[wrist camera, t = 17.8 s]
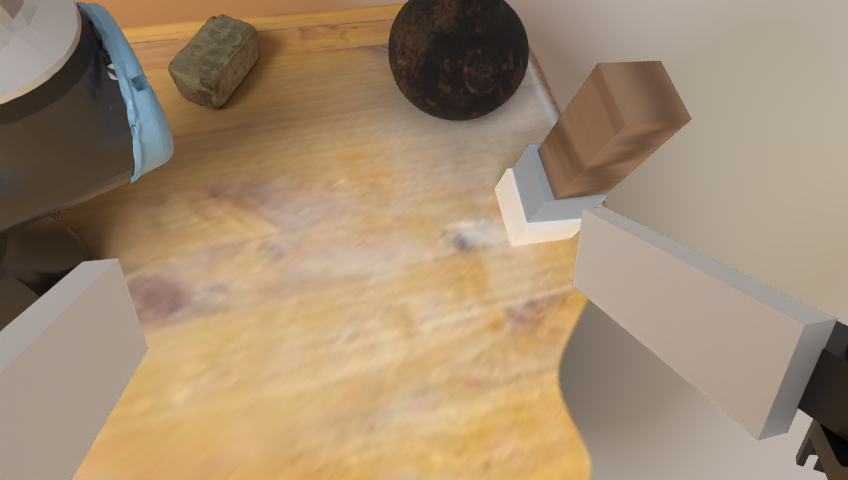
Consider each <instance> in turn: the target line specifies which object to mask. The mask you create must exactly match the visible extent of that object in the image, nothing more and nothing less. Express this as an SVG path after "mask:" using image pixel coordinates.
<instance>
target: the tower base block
mask: <svg viewBox="0 0 848 480" xmlns="http://www.w3.org/2000/svg"><path fill="white" fill-rule="evenodd" d="M512 169H513V168H507V170H506V172H505V173H504V175H503V176H502V178H501V180H500V181H499V183H498V184H497V186H496V188H495V192H496V195H497V199H498V202H499V206H500V209H501V213H502V216H503V220H504V223H505V227H506V230H507V234H508V237H509V241H510V244H511V246H516V245H524V244H532V243H540V242H547V241H555V240H563V239H570V238H571V237H572V236H574V235H575V234H576V233H577V232H579V231H580V225H581V219H569V220H557V221H545V222H533V223H527V221H526V217H525V214H524V210H523V207H522V203H521V199H520V196H519V192H518V188H517V185H516V181H515V178H514V174H513V170H512Z"/></svg>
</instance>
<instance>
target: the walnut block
mask: <svg viewBox="0 0 848 480" xmlns="http://www.w3.org/2000/svg"><path fill="white" fill-rule="evenodd" d="M690 120H691V117H690V115H689V113H688V112H687V109H686V108H685V106H684V104H683V102H682V100H681V98H680V96H679V94H678V93H677V91H676V89H675V87H674V85H673V83H672V82H671V79H670V78H669V76H668V74H667V72H666V70H665V68H664V66H663V65H662V63H661V61H646V62H645V61H644V62H620V63H598V64H597V65H596V67H595V68H594V69H593V71H592V72H591V74H590V75H589V77H588V78H587V79H586V81H585V82H584V84H583V86H582V87H581V88H580V90H579V91H578V93H577V94H576V95H575V97H574V98H573V100H572V101H571V103H570V104H569V105H568V107H567V108H566V110H565V111H564V113H563V114H562V116H561V117H560V118H559V120H558V121H557V123H556V124H555V126H554V127H553V128H552V130H551V131H550V133H549V134H548V136H547V137H546V139H545V140H544V141H543V143H542V144H541V146H540V147H539V149H538V150H537V152H538V154H539V157H540V160H541V163H542V166H543V168H544V171H545V174H546V177H547V180H548V182H549V185H550V188H551V191H552V193H553V196H554V199H555V200H560V199H568V198H576V197H585V196H593V195H601V194H607V193H608V192H609V191H610V190H611V189H612V188H613V187H615V186H616V185H617V184H618V183H619V182H620V181H622V180H623V179H624V178H625V177H626V176H627V175H628V174H629V173H631V172H632V171H633V170H634V169H635V168H636V167H637V166H639V165H640V164H641V163H642V162H643V161H644V160H645V159H647V158H648V157H649V156H650V155H651V154H652V153H653V152H655V151H656V150H657V149H658V148H659V147H660V146H661V145H663V144H664V143H665V142H666V141H667V140H668V139H669V138H670V137H672V136H673V135H674V134H675V133H676V132H677V131H678V130H680V129H681V128H682V127H683V126H684V125H685V124H686V123H688V122H689V121H690Z"/></svg>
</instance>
